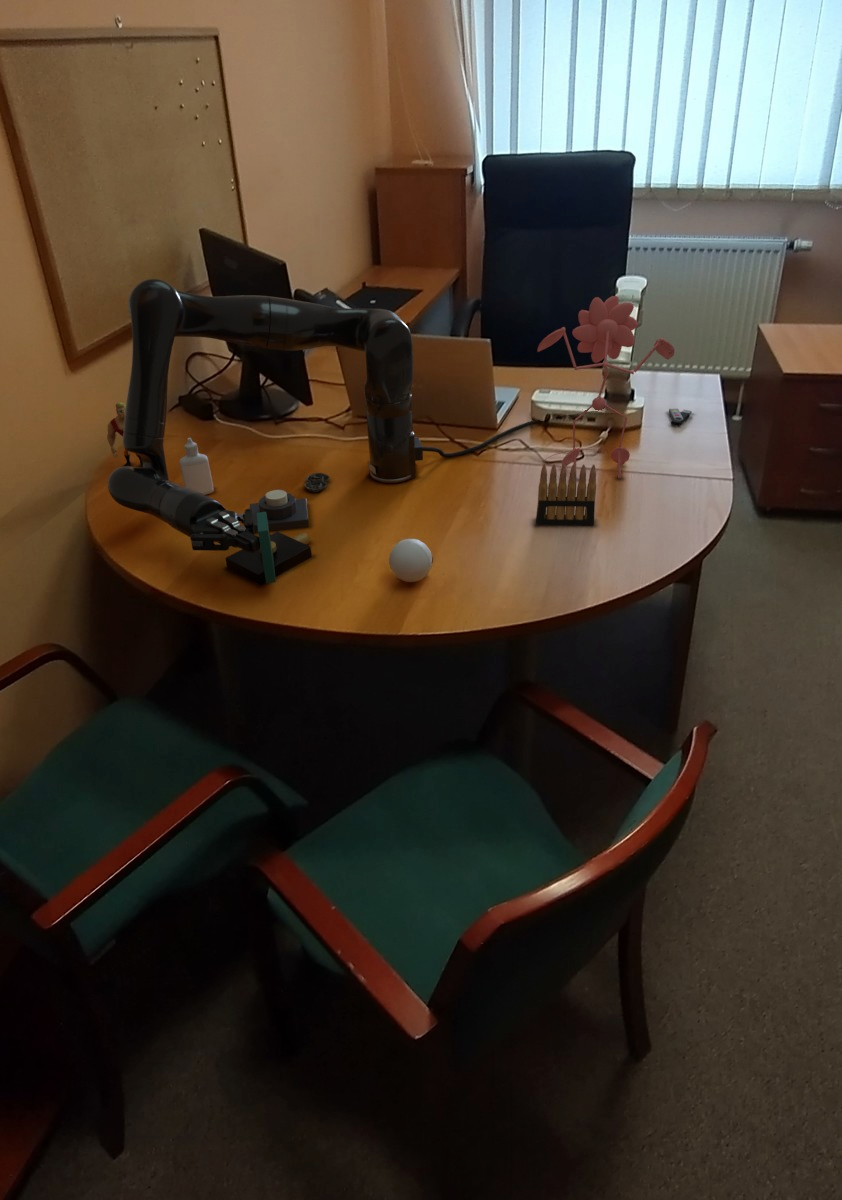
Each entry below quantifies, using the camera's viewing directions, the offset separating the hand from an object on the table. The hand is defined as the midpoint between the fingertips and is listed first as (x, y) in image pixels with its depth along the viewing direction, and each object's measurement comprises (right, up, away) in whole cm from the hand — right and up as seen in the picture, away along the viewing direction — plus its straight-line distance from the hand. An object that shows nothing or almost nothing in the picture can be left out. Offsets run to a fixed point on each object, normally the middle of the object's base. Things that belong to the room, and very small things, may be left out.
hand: (256, 545), depth 135 cm
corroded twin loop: (+5, +15, +40) cm, 43 cm away
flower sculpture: (+63, +20, +44) cm, 79 cm away
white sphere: (+25, -4, +10) cm, 27 cm away
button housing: (-1, +7, +28) cm, 29 cm away
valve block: (0, -1, +16) cm, 16 cm away
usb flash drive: (+86, +34, +63) cm, 112 cm away
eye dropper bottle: (-19, +13, +39) cm, 45 cm away
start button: (-1, +10, +26) cm, 28 cm away
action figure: (-36, +20, +50) cm, 65 cm away
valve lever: (0, -2, +9) cm, 10 cm away
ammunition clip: (+53, +6, +23) cm, 59 cm away
